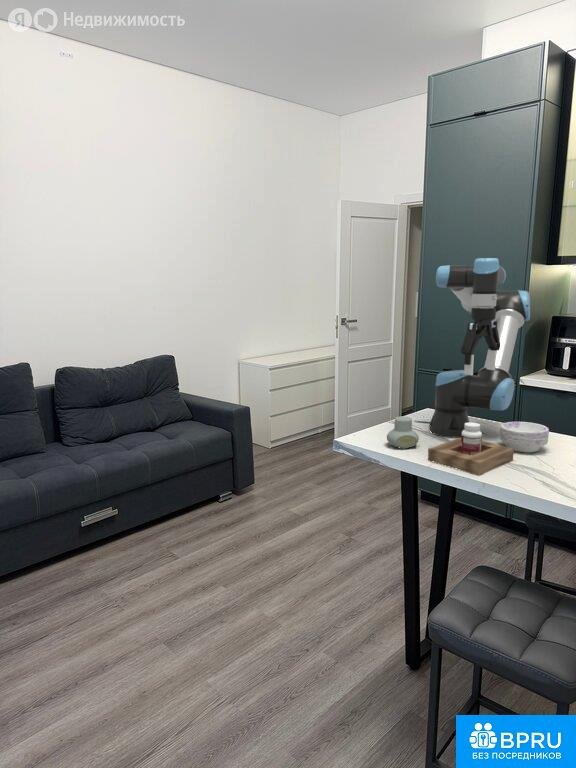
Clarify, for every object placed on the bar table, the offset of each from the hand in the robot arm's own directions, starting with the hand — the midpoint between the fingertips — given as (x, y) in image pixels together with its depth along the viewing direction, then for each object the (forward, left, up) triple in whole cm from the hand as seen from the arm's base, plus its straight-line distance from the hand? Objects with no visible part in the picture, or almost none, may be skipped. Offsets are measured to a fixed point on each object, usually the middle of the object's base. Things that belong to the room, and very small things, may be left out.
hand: (479, 372), depth 181 cm
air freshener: (-19, -15, -27) cm, 36 cm away
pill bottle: (+5, -11, -26) cm, 29 cm away
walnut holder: (+5, -11, -27) cm, 29 cm away
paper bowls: (+10, +13, -27) cm, 32 cm away
